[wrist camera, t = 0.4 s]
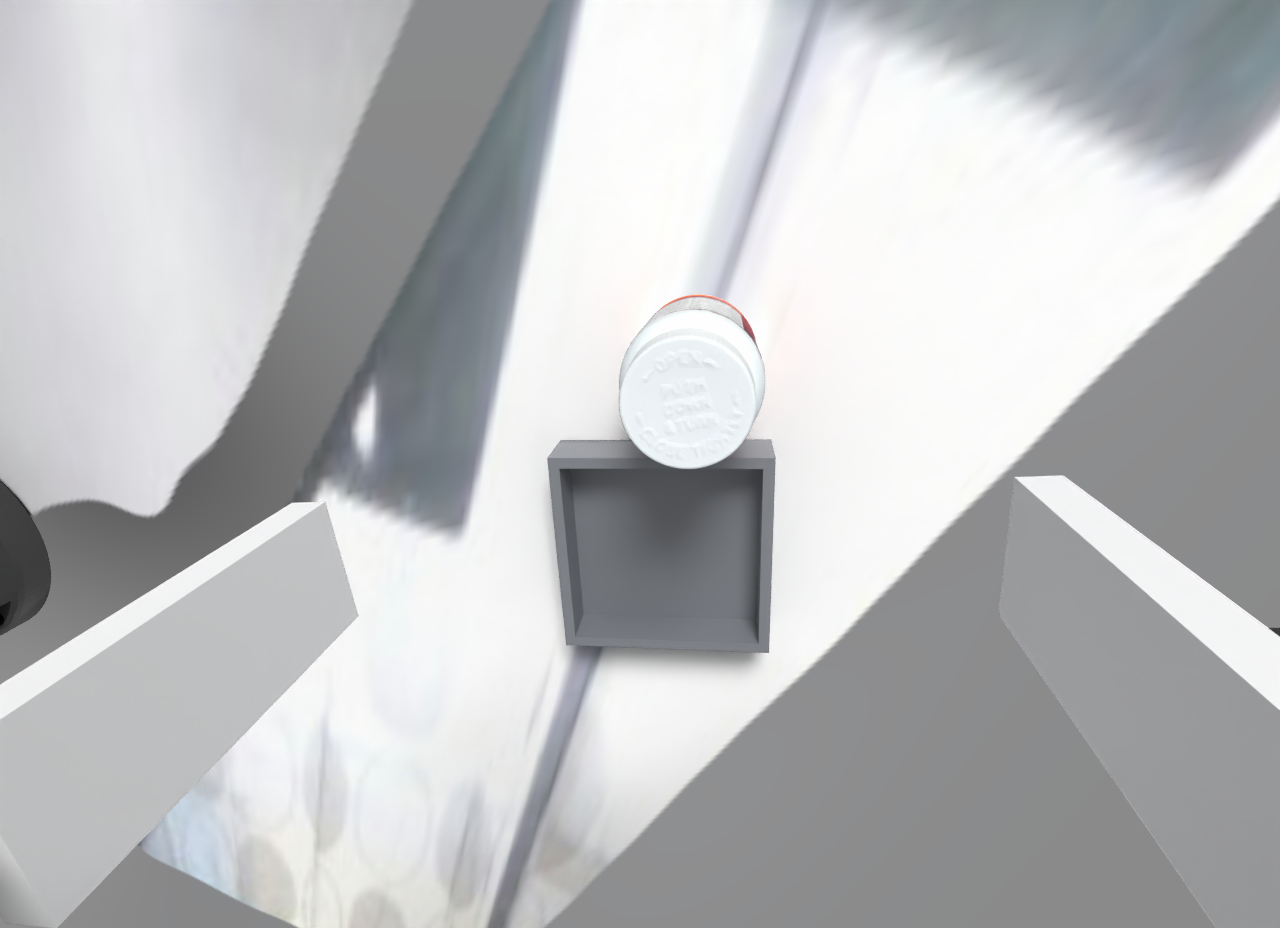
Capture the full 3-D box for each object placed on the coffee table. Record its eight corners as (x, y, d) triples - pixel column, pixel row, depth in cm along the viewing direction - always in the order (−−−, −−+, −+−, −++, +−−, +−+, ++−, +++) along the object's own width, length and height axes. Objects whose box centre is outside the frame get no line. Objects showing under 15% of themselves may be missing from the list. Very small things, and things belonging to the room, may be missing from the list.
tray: (577, 616, 40) (566, 644, 38) (560, 440, 36) (547, 458, 33) (765, 622, 39) (768, 652, 36) (770, 439, 35) (775, 457, 32)
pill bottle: (743, 415, 34) (753, 497, 24) (633, 397, 35) (596, 469, 24) (766, 301, 32) (789, 337, 22) (649, 283, 32) (615, 309, 22)
